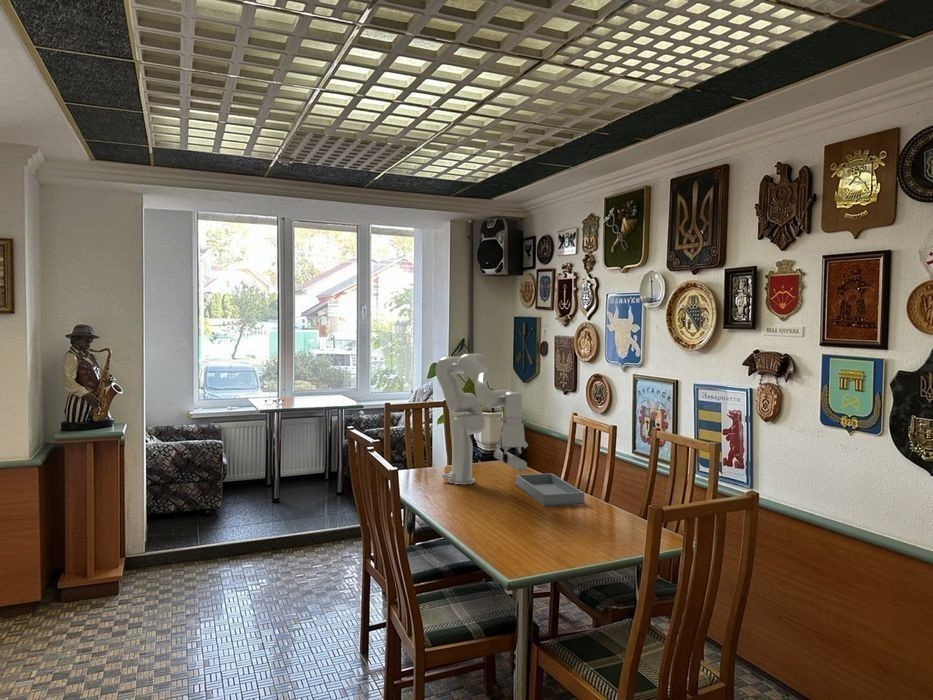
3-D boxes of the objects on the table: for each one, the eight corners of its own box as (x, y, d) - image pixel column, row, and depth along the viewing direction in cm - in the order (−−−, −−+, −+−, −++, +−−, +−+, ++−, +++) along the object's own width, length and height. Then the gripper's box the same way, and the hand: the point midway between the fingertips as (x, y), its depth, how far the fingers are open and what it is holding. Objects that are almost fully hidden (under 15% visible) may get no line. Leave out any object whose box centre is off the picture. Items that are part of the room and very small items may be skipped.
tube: (531, 462, 259) (506, 449, 282) (520, 459, 257) (496, 446, 280) (527, 474, 259) (502, 460, 282) (516, 471, 257) (492, 457, 280)
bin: (544, 506, 256) (544, 494, 256) (515, 485, 289) (515, 474, 288) (583, 504, 261) (584, 492, 260) (551, 483, 293) (551, 473, 293)
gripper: (496, 422, 263) (495, 465, 263) (534, 421, 267) (532, 463, 268) (491, 419, 270) (490, 461, 271) (528, 418, 274) (526, 459, 275)
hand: (511, 461), depth 269 cm, fingers closed on tube, 4 cm apart
